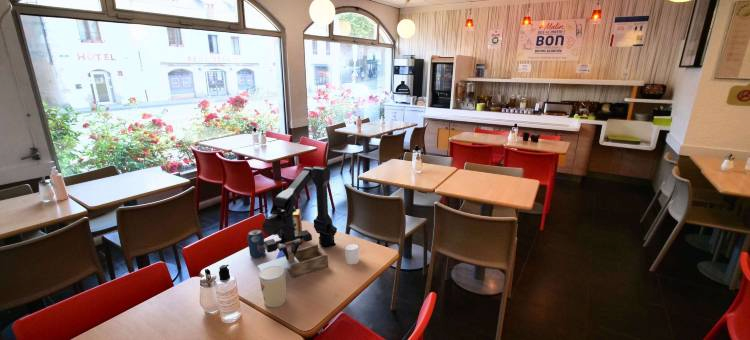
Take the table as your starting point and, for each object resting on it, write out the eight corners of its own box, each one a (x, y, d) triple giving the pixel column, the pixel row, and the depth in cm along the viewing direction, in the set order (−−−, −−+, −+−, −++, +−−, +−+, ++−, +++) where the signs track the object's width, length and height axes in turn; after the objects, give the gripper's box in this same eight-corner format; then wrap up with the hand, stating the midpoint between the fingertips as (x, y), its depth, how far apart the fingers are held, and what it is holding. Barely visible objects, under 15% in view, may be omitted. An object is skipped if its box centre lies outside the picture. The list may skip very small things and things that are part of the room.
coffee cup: (265, 293, 133) (261, 265, 129) (290, 291, 134) (287, 264, 130) (259, 309, 124) (255, 280, 121) (286, 307, 125) (282, 278, 121)
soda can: (263, 259, 157) (259, 235, 154) (247, 259, 157) (244, 235, 154) (267, 251, 164) (265, 228, 160) (253, 251, 164) (250, 228, 160)
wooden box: (318, 256, 158) (317, 244, 157) (328, 267, 149) (327, 254, 148) (284, 266, 150) (282, 254, 149) (292, 279, 141) (291, 266, 140)
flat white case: (292, 255, 150) (291, 245, 149) (300, 264, 143) (298, 254, 141) (257, 267, 143) (256, 256, 141) (263, 277, 135) (261, 266, 134)
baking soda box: (302, 237, 176) (300, 208, 172) (301, 243, 170) (299, 213, 166) (283, 239, 175) (280, 209, 171) (282, 245, 169) (278, 215, 164)
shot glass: (363, 260, 154) (362, 246, 152) (352, 266, 149) (351, 252, 147) (352, 255, 158) (352, 241, 156) (341, 261, 154) (340, 247, 152)
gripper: (301, 213, 152) (304, 245, 156) (258, 223, 142) (262, 257, 147) (311, 221, 143) (313, 255, 147) (265, 233, 133) (270, 269, 137)
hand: (290, 259), depth 145 cm, fingers closed on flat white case
